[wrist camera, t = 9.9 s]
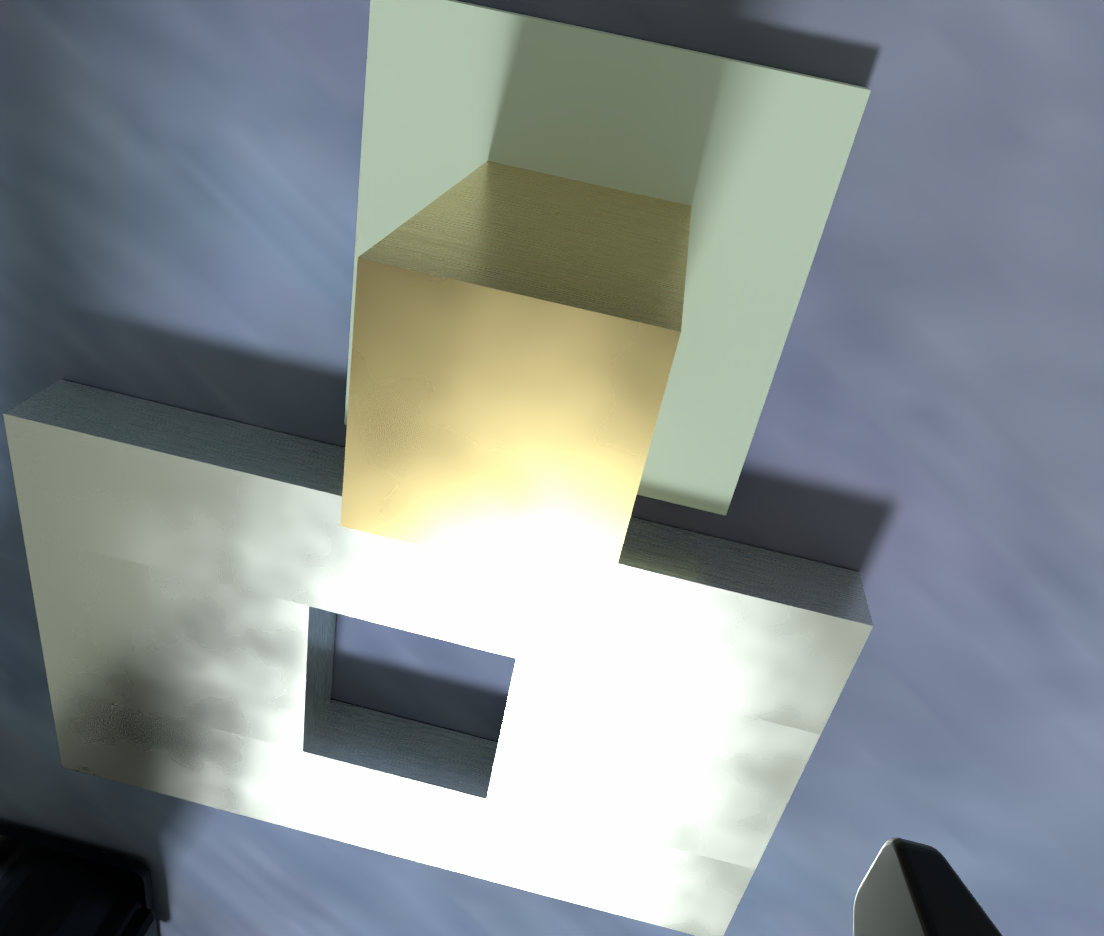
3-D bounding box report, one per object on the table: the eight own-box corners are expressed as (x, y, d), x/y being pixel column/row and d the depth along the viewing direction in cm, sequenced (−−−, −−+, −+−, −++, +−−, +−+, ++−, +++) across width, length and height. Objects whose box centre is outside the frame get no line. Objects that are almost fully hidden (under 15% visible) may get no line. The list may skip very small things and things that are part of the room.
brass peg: (461, 351, 18) (340, 526, 12) (487, 160, 16) (356, 257, 10) (642, 393, 18) (610, 592, 12) (691, 206, 16) (680, 331, 10)
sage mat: (353, 413, 20) (344, 424, 20) (382, -16, 16) (371, -17, 15) (725, 502, 20) (725, 515, 19) (865, 87, 15) (870, 90, 15)
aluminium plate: (103, 718, 27) (62, 767, 25) (60, 379, 21) (3, 413, 19) (719, 879, 26) (719, 941, 24) (859, 571, 20) (873, 626, 18)
